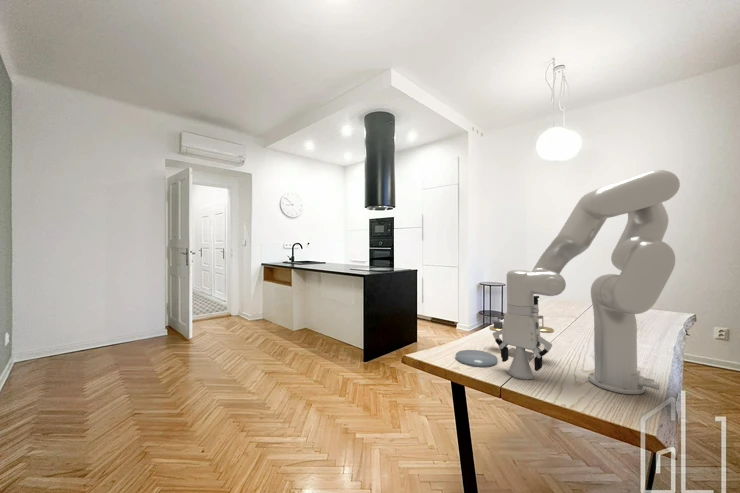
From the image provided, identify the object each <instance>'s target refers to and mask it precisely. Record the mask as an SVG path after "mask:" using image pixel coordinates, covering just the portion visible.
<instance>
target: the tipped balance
mask: <svg viewBox="0 0 740 493" xmlns="http://www.w3.org/2000/svg"><path fill="white" fill-rule="evenodd" d="M537 318H538V319H539V320H540V319H541V320H542V322H541V323H542V326H540V325H539V328H540V333H543V334H551V333H554V332H555V330H554V328H551V327H548V326H544V315H538V316H537ZM501 320H504V316H501V315H498V316H497V320H495V321H493V325H490V326H488V327H489V330H490V331H492V332H497V331H500V330H502V329H503V321H501ZM515 352H516V347H510V348H508V357H512V358H514V356H515ZM525 352H526V357H527V359H528V361H530V360H531V359H533V358H535V357H536V355H535V354H534V353H533V351H528V350H525Z"/></svg>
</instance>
